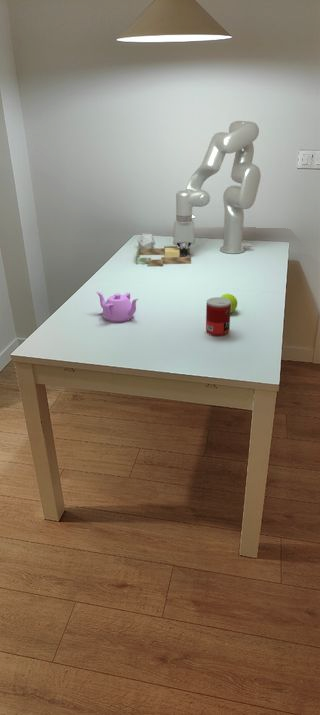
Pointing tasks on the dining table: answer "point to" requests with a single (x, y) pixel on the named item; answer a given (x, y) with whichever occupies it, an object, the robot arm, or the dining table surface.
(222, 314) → the canned food
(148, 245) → the die
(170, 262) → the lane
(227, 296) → the tennis ball
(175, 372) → the dining table surface
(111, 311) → the teapot
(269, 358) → the dining table surface
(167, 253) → the block
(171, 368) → the dining table surface
